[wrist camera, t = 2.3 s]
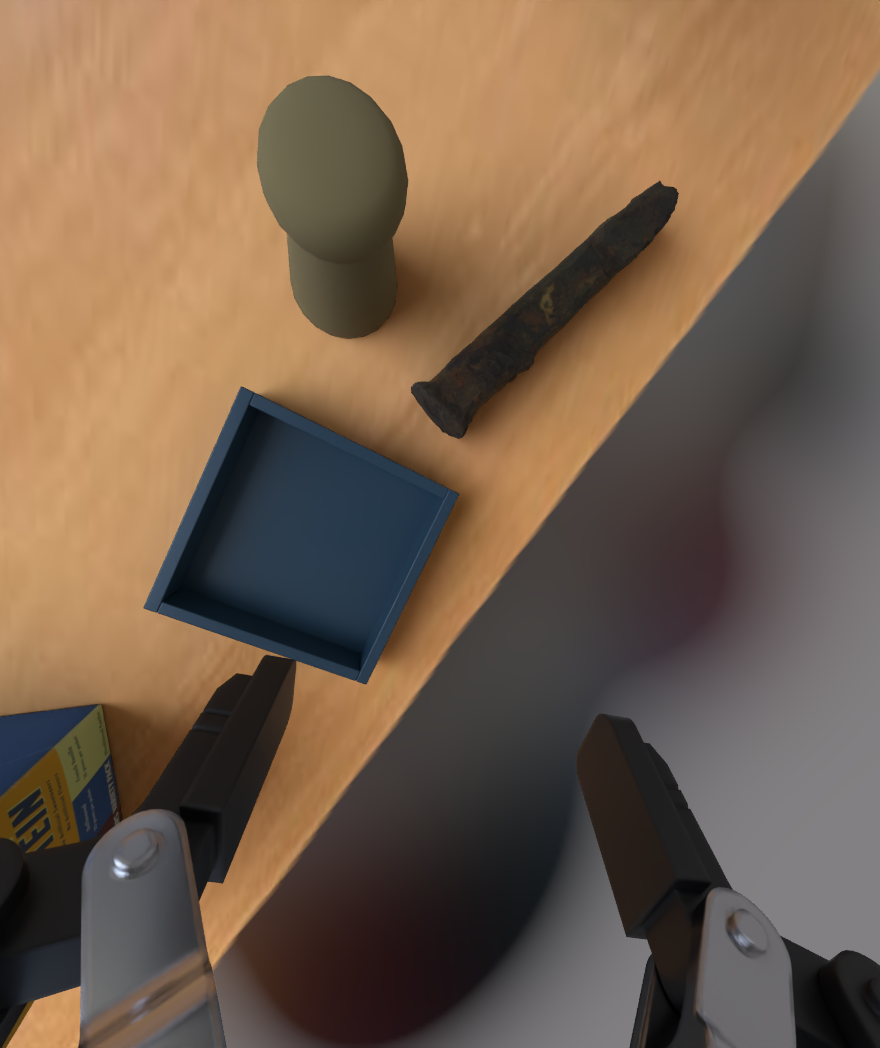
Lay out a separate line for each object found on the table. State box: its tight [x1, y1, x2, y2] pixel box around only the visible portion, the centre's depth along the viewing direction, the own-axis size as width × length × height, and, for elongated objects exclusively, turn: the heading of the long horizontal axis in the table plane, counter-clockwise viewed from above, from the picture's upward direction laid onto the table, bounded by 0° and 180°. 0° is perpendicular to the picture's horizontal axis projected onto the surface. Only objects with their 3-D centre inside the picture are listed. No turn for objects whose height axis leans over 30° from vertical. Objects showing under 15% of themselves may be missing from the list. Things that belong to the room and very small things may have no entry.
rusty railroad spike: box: [411, 181, 679, 439], centre depth 24 cm, size 19×4×5 cm, turn 130°
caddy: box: [144, 387, 459, 684], centre depth 24 cm, size 13×13×3 cm
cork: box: [257, 76, 408, 339], centre depth 18 cm, size 6×6×11 cm
